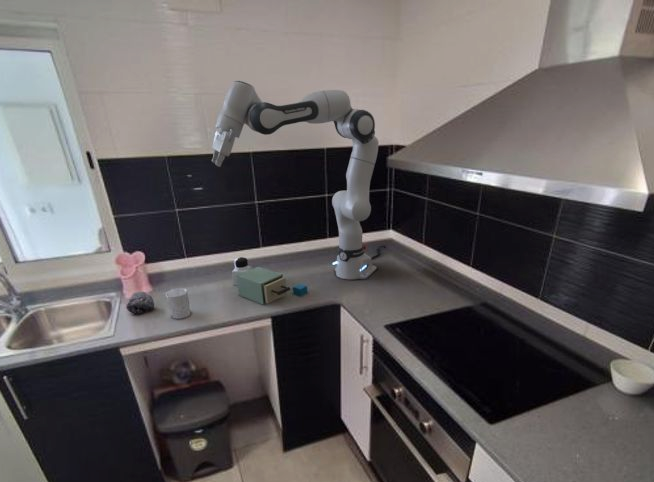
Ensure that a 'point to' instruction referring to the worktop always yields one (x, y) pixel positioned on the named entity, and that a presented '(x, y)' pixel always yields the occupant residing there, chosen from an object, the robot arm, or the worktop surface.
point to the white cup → (178, 303)
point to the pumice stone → (140, 303)
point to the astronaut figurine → (240, 267)
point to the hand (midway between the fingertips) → (215, 164)
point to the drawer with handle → (275, 289)
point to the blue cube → (300, 290)
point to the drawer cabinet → (255, 283)
